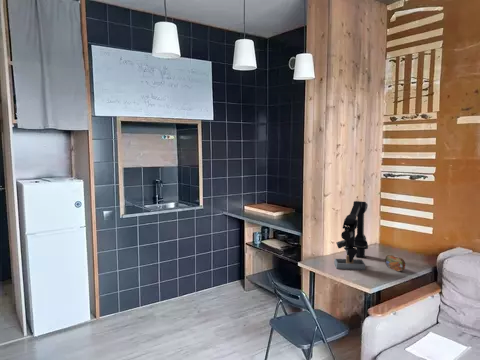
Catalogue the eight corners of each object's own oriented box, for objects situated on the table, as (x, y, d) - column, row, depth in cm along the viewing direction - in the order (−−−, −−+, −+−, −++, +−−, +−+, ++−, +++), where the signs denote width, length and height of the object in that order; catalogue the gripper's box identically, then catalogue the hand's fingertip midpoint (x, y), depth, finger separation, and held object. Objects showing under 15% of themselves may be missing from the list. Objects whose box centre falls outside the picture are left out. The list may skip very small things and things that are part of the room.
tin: (384, 266, 242) (384, 253, 241) (388, 265, 243) (388, 252, 242) (401, 273, 228) (402, 259, 227) (405, 272, 229) (406, 259, 228)
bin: (334, 263, 246) (334, 258, 245) (361, 264, 244) (361, 259, 243) (336, 268, 235) (336, 263, 235) (365, 270, 233) (365, 264, 233)
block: (345, 264, 242) (346, 255, 241) (352, 264, 241) (352, 255, 241) (346, 266, 238) (347, 256, 237) (353, 266, 237) (353, 257, 237)
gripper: (335, 233, 248) (334, 256, 249) (339, 240, 230) (338, 264, 231) (352, 233, 247) (351, 256, 248) (358, 240, 228) (357, 265, 230)
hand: (349, 260), depth 239 cm, fingers open, 6 cm apart
